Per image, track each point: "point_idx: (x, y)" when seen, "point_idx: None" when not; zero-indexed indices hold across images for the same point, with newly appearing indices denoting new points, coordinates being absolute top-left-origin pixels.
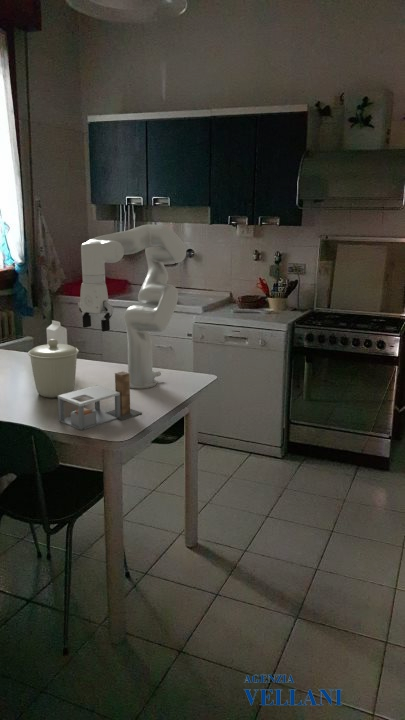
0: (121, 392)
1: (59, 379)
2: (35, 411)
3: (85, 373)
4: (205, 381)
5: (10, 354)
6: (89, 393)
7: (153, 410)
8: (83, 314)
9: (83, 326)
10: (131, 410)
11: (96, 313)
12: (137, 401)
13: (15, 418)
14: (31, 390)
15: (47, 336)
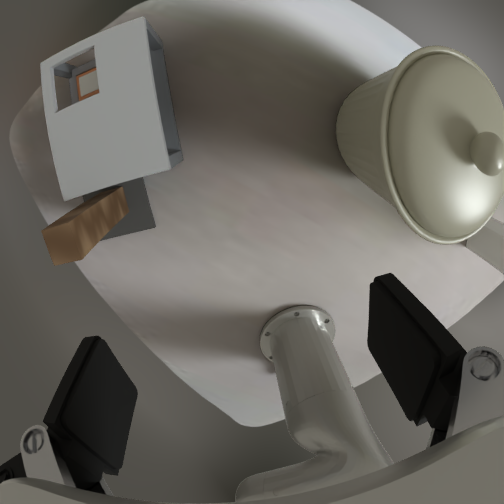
0: (72, 210)
1: (351, 112)
2: (273, 22)
3: (439, 271)
4: (230, 415)
5: None
6: (98, 110)
7: (108, 272)
8: (465, 380)
9: (386, 277)
10: (120, 227)
11: (18, 481)
12: (184, 275)
13: None
14: None
15: None
